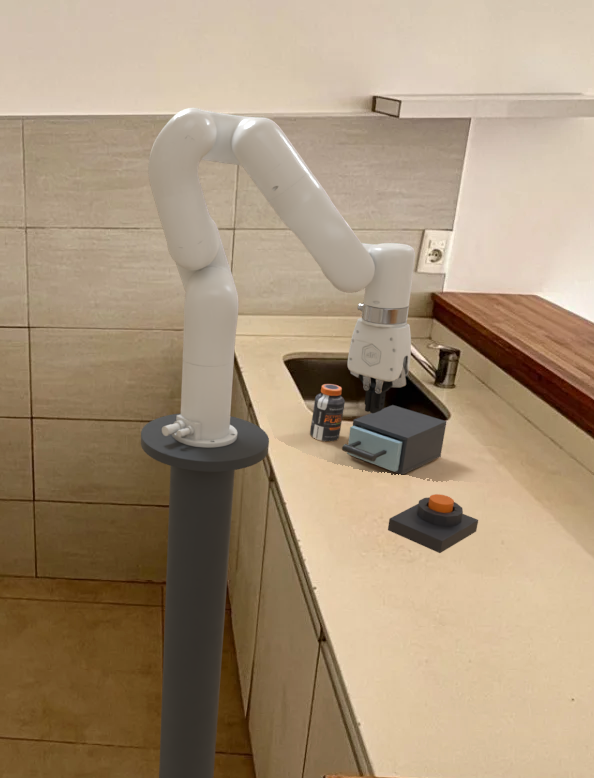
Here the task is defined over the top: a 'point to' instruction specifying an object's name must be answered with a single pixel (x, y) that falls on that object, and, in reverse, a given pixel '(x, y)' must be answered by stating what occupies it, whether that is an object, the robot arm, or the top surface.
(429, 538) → the control block
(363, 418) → the drawer cabinet
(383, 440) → the blue drawer
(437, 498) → the button
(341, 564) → the top surface
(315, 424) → the pill bottle
